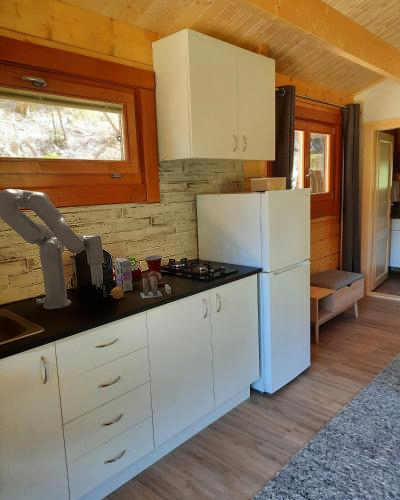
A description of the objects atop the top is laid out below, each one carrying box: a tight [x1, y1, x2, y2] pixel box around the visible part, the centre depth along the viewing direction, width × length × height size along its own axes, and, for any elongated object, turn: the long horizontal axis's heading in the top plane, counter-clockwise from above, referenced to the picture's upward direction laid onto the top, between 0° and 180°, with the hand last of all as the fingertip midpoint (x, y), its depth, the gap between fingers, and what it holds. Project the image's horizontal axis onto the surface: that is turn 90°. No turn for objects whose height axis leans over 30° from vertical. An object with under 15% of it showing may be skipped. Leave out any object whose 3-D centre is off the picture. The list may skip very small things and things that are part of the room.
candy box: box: [113, 257, 134, 292], centre depth 207 cm, size 14×6×16 cm, turn 26°
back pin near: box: [152, 279, 159, 296], centre depth 190 cm, size 2×2×8 cm
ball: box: [110, 286, 125, 300], centre depth 189 cm, size 6×6×6 cm
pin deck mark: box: [140, 290, 163, 299], centre depth 193 cm, size 10×10×1 cm
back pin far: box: [150, 277, 155, 293], centre depth 195 cm, size 2×2×8 cm
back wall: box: [164, 283, 172, 295], centre depth 196 cm, size 2×9×3 cm, turn 15°
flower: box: [147, 271, 164, 287], centre depth 211 cm, size 10×9×8 cm
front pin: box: [142, 278, 149, 296], centre depth 192 cm, size 2×2×8 cm
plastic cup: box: [144, 254, 163, 273], centre depth 235 cm, size 11×11×12 cm
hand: (100, 296), depth 187 cm, fingers closed
